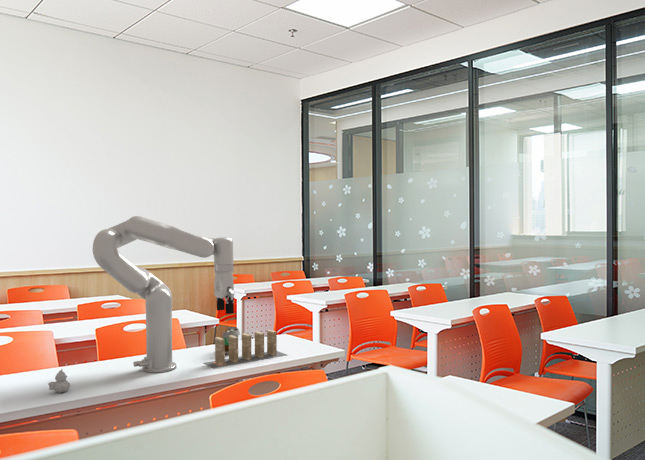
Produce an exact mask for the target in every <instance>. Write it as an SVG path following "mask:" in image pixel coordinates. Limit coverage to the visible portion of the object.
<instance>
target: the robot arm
mask: <svg viewBox="0 0 645 460" xmlns="http://www.w3.org/2000/svg"><path fill="white" fill-rule="evenodd" d="M137 240H139V241H143V242H147V243H150V244H154V245H155V246H156V245H157V246H159V247H163V248H166V249H169V250H170V249H171V250H175V251H179V252H182V253H186V254H189V255H192V256H195V257H198V258H202V259H203V258H204V259H205V258H209V257H211V256H213V270H214V279H213V280H214V283H213V286H214V287H213V288H214V289H213V294H214V297H216V298H215V300H216V311H225V314H226V315H230V314H232V315H233V314H234V313H235V311H234V310H235V309H234V308H235V305H234V303H235V290H234V285H235V284H234V276H233V273H234V271H235V270H234V242H233V238H232V237H226V236H225V237H216V238H213V237H203V236H200V235H197V234H193V233H191V232H187V231H184V230H182V229H179V228H177V227H175V226H173V225H169V224H167V223H164V222H163V223H162V222H160V221H157V220H153V219H149V218H146V217H143V216H141V215H134V216H131V217H129V219H127V220H125V221H122V222H121V223H118V224H116V225H113V226H111V227H109V228H104V229H102V230H100V231H99V232H97V234H96V235H95V237H94V239H93V242H92V256H93V259H94V261H95V262H96V263H97V265H98V266H99V267H100V268H101V269H102V270H103V271H105V273H107V274H108V275H110V277H112V279H114V280H115V281H116V282H118V283H119V284H120V285H121V286H123V287H124V288H125V289H126V290H127V291H128V292H130V293H132V294H137V295H139V296H140V297H141V298H142V299H143V300H145V302H144V303H145V331H146V332H145V333H146V334H145V336H146V338H145V339H146V342H145V343H146V345H145V347H146V356H144V357H143V359H141V360H137V361H133V363H132V364H133V367H139V368H142V371H143V372H146V373H156V374H157V373H165V372H170V371H172V370H175V369H176V368H177V363H176V362H174V361H173V295H172V291H171V289H170V288H169V286H168V285H166V283H164V282H163V281H161V280H160V279H159V278H158V277H157V276H155V275H154V274H153V273H151V271H149V270H148V269H146V268H144V267H142V266H136V265H135V264H134V263H132V261H130V260H129V259H128V258H127V257H126V256H124V255H123V254H121V253H120V252H119V248H121V247H123V246H125V245H128V244H130V243H132V242H134V241H137Z"/></svg>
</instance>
